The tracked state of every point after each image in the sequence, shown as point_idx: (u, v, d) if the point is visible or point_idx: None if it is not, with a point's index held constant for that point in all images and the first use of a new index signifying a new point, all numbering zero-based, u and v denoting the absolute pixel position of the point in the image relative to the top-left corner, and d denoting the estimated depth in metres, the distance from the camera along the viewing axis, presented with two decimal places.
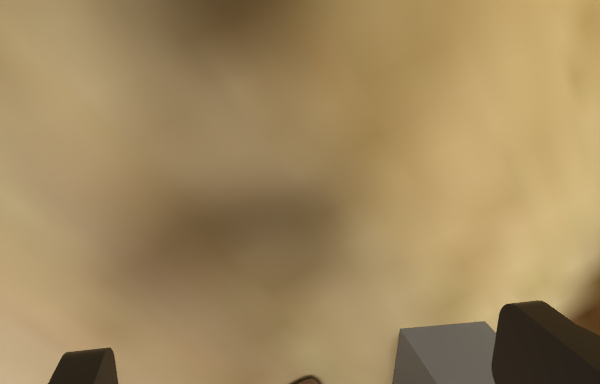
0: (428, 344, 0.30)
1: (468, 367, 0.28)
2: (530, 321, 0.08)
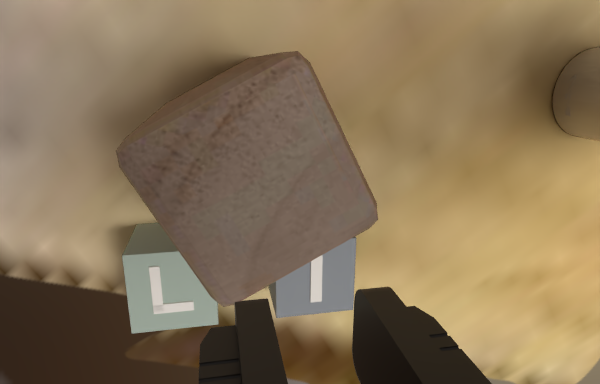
0: None
1: None
2: (368, 305, 0.09)
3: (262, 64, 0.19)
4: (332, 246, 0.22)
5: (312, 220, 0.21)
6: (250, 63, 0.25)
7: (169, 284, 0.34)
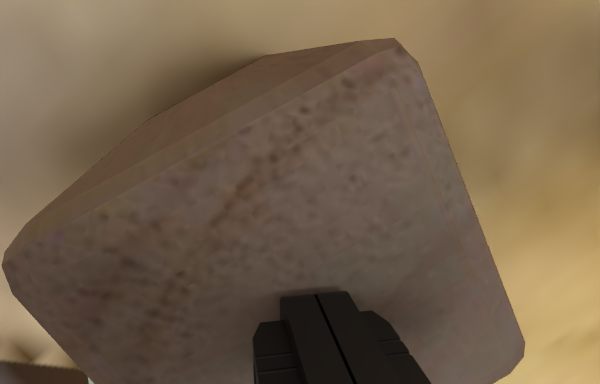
0: None
1: None
2: (322, 309, 0.09)
3: (320, 66, 0.09)
4: None
5: None
6: (278, 63, 0.15)
7: None
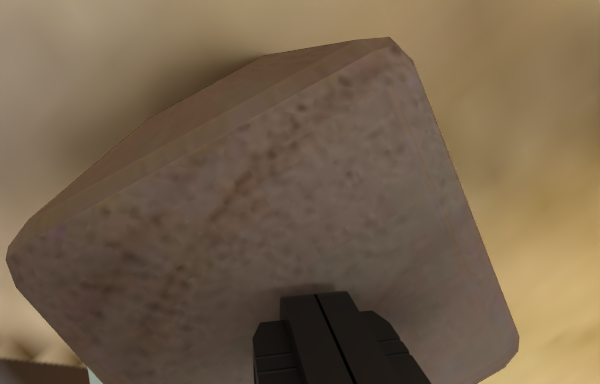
0: None
1: None
2: (322, 309, 0.09)
3: (317, 64, 0.09)
4: None
5: None
6: (276, 62, 0.15)
7: None
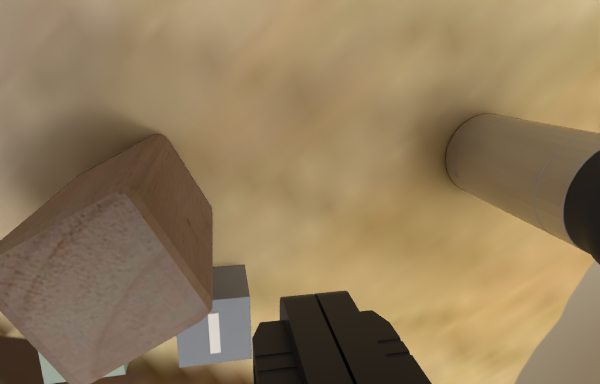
0: None
1: None
2: (322, 309, 0.09)
3: (93, 196, 0.23)
4: (169, 336, 0.26)
5: (147, 318, 0.25)
6: (116, 169, 0.29)
7: None
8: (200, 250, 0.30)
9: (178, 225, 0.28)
